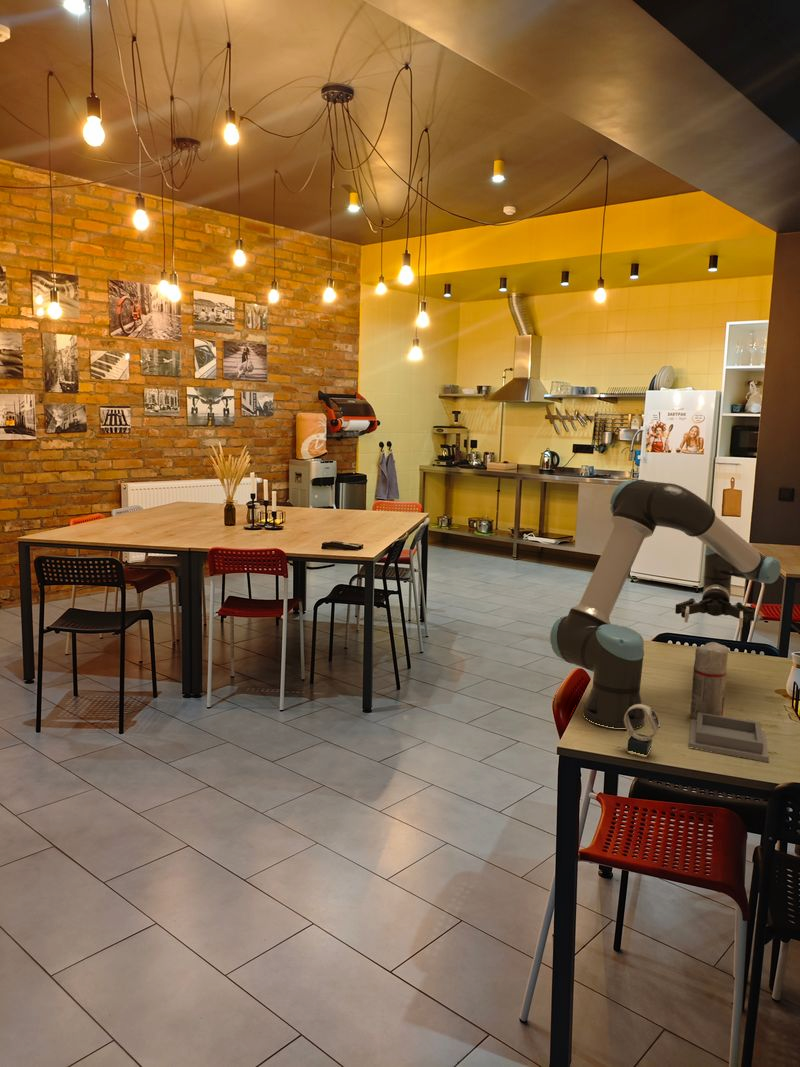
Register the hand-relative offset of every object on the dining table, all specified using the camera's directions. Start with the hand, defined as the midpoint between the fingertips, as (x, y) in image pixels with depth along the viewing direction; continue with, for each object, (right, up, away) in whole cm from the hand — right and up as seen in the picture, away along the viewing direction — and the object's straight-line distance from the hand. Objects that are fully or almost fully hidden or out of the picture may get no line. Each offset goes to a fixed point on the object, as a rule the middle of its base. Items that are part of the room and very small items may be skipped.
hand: (713, 620), depth 209 cm
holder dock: (-5, -27, -20) cm, 34 cm away
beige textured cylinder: (-4, -25, -5) cm, 26 cm away
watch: (-28, -27, -28) cm, 48 cm away
